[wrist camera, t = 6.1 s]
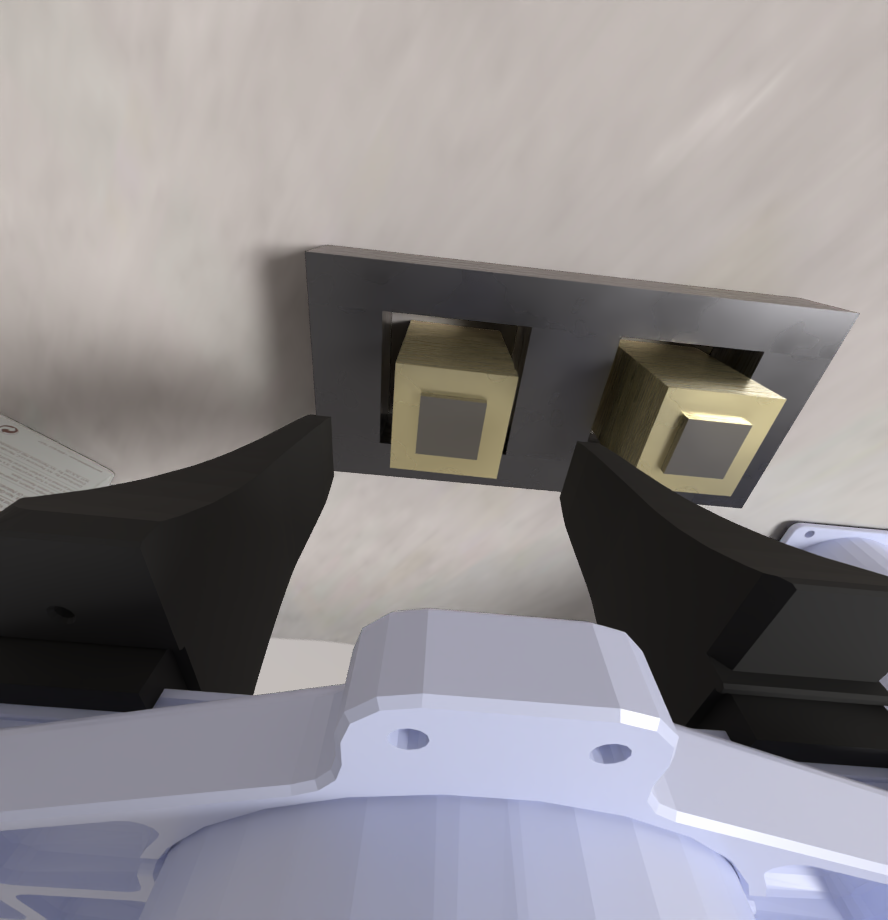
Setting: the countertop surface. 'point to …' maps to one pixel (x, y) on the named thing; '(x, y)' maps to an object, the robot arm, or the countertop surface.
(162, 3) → the countertop surface
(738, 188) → the countertop surface
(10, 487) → the supplement box
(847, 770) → the robot arm
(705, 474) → the seated nut
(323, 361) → the rail
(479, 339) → the block
